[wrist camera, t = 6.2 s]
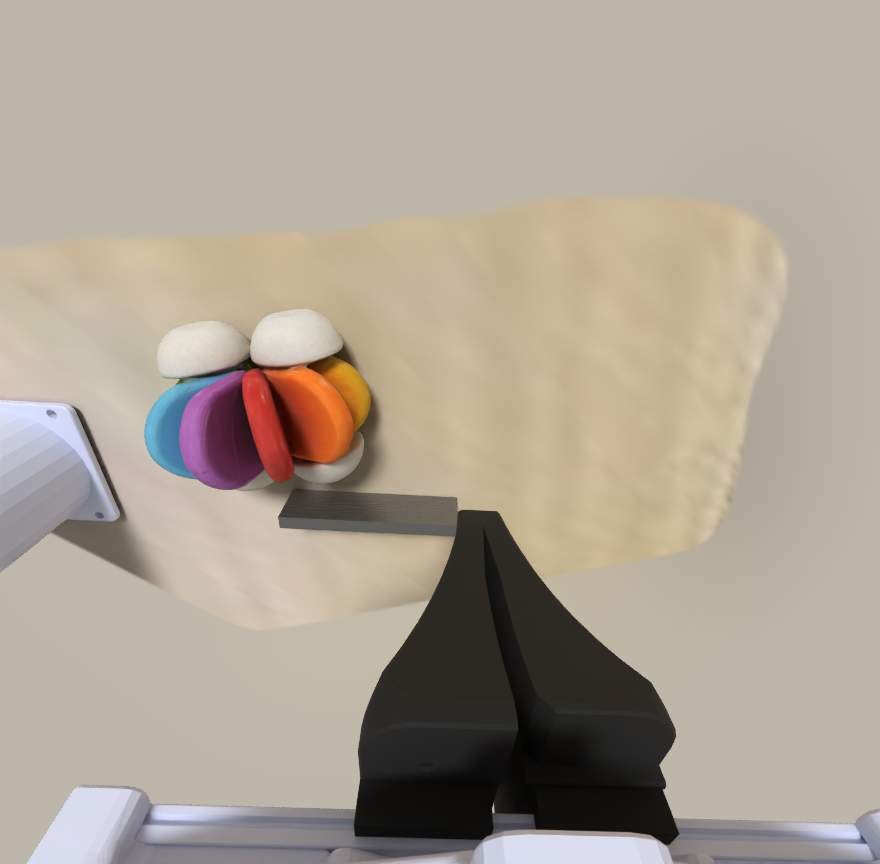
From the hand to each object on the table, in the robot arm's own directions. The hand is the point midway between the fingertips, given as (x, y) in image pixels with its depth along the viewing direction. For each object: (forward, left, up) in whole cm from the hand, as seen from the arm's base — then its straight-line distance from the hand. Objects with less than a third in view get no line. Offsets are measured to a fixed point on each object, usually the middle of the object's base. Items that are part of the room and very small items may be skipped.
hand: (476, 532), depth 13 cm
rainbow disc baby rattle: (-10, +1, -10) cm, 14 cm away
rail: (-5, -6, -9) cm, 12 cm away
